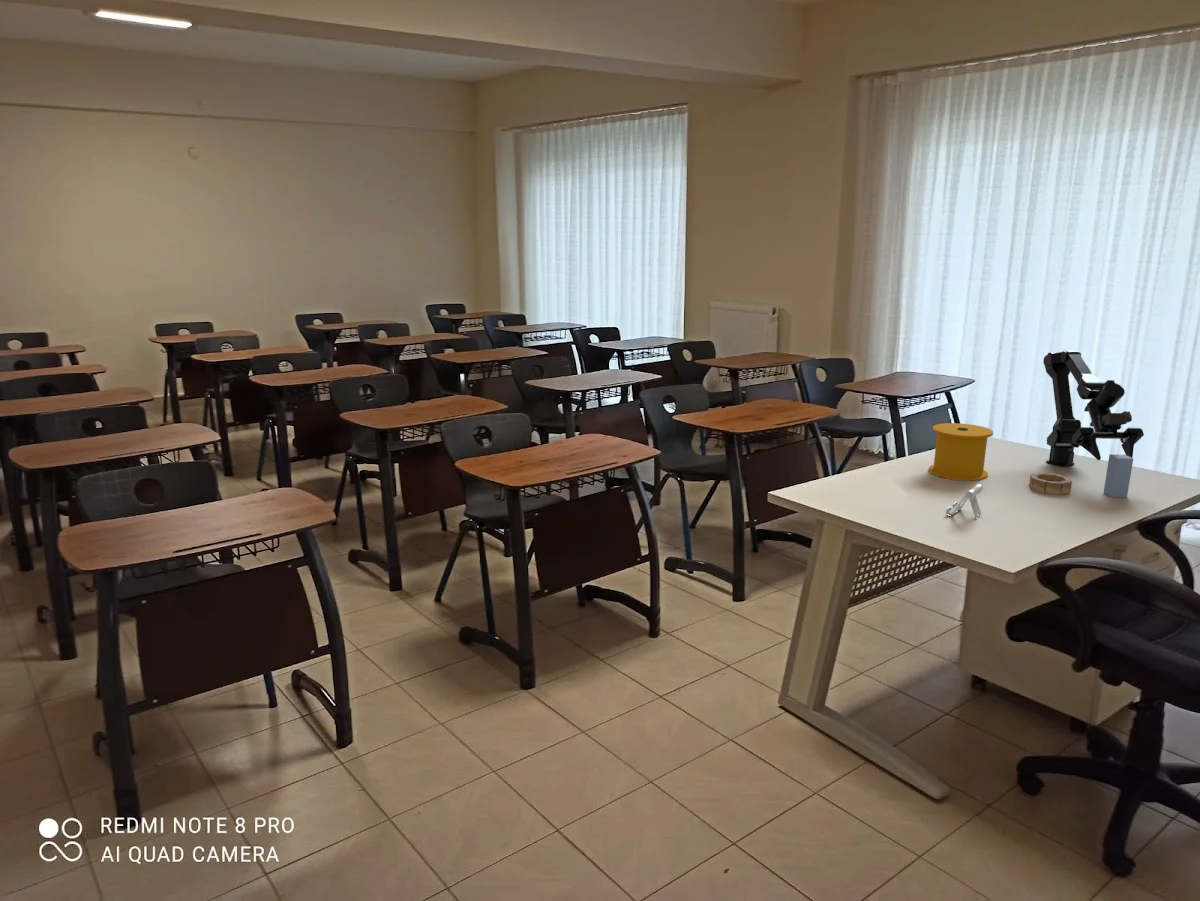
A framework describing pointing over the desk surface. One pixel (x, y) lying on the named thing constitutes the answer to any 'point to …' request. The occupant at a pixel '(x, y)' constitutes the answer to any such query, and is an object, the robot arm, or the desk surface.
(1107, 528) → the desk surface
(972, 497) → the portable electronic device stand
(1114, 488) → the light blue block
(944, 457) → the spool
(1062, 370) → the robot arm
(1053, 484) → the octagonal cardboard ring
